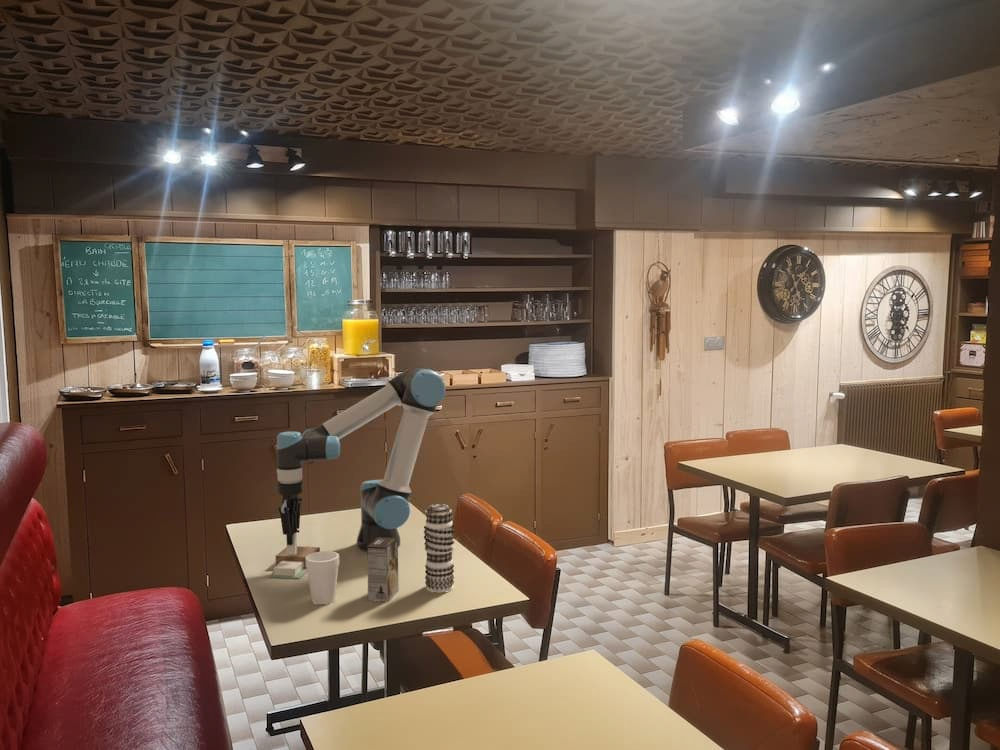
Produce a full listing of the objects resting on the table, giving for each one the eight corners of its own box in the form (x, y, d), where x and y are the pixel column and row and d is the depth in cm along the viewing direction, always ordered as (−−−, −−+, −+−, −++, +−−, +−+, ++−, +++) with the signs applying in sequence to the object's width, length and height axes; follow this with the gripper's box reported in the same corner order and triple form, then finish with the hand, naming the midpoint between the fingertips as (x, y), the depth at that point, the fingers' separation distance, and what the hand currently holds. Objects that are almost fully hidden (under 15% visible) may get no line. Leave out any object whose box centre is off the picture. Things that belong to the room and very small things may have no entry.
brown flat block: (320, 559, 256) (319, 547, 255) (308, 569, 246) (308, 557, 245) (288, 557, 257) (288, 546, 257) (275, 567, 247) (275, 555, 247)
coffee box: (378, 588, 229) (377, 536, 228) (399, 590, 228) (398, 537, 226) (367, 600, 220) (366, 546, 219) (388, 602, 219) (387, 547, 217)
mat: (309, 569, 245) (309, 568, 245) (299, 579, 237) (299, 577, 237) (279, 568, 247) (279, 567, 247) (268, 577, 239) (268, 576, 238)
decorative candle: (455, 593, 226) (454, 509, 223) (423, 593, 225) (422, 510, 223) (455, 581, 235) (454, 501, 232) (424, 582, 234) (423, 502, 232)
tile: (303, 568, 246) (303, 561, 246) (295, 575, 239) (295, 568, 239) (283, 567, 247) (282, 560, 247) (273, 574, 240) (273, 567, 240)
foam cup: (310, 609, 214) (309, 564, 213) (303, 598, 222) (301, 554, 221) (344, 603, 218) (343, 558, 217) (335, 592, 226) (334, 549, 225)
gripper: (287, 475, 250) (289, 546, 252) (269, 485, 237) (271, 559, 239) (309, 476, 249) (310, 547, 251) (292, 486, 236) (294, 560, 238)
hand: (291, 553), depth 245 cm, fingers closed
